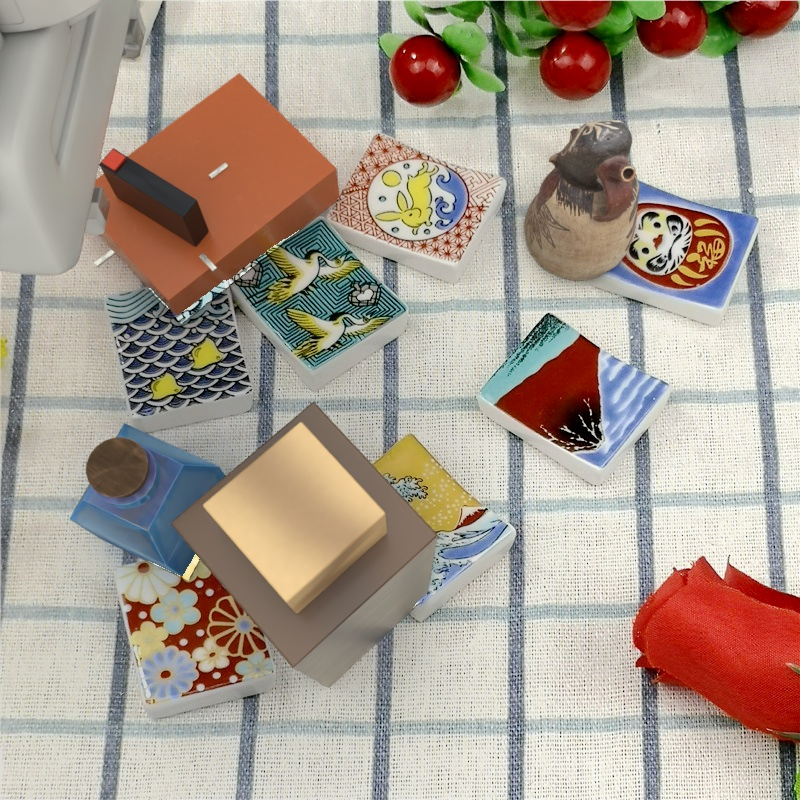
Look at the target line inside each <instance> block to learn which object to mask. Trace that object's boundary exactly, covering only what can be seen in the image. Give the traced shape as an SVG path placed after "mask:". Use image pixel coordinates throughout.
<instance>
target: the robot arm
mask: <svg viewBox="0 0 800 800" xmlns="http://www.w3.org/2000/svg"><path fill="white" fill-rule="evenodd" d="M140 6H141V4H140V0H0V272H4V273H9V274H18V275H27V276H59V275H62V274H65V273H67V272H68V271H70V270H72V269H74V268H75V267H76V266H77V265H78V263H79V261H80V258H81V254H82V250H83V246H84V245H83V244H84V239H85V235H92V236H100V235H102V234H104V232H105V228H106V223H107V219H108V213H109V207H110V202H109V200H107V198H106V194H105V192H104V190H103V188H102V187H95V182H96V179H97V178H98V172H99V168H100V165H99V164H100V162H101V158H102V152H103V148H104V142H105V139H106V135H107V134H106V133H107V129H108V126H109V125H108V124H109V119H110V115H111V110H112V106H113V101H114V96H115V92H116V86H117V81H118V77H119V73H120V72H119V71H120V69H121V68H120V67H121V62H122V57H123V56H126V58H128V59H138V58H139V57H141V56H140V55H141V52H142V48H143V44H144V40H145V35H146V31H147V28H146V25H145V23H144V19H143V16H142V13H141V9H140V8H141V7H140Z"/></svg>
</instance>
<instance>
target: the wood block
mask: <svg viewBox="0 0 800 800" xmlns="http://www.w3.org/2000/svg"><path fill="white" fill-rule="evenodd" d="M203 507H204V508H205V510H206V511H207V512H208V513H209V514H210V515H211V517H212V518H213V519H214V520H215V521H216V522H217V523H218V525H219V526H220V527H221V528H222V529H223V530H224V532H225V533H226V534H227V535H228V536H229V537H230V539H231V540H232V541H233V542H234V543H235V544H236V545H237V547H238V548H239V549H240V550H241V551H242V552H243V554H244V555H245V556H246V557H247V558H248V559H249V561H250V562H251V563H252V564H253V565H254V566H255V567H256V569H257V570H258V571H259V572H260V573H261V574H262V576H263V577H264V578H265V579H266V580H267V581H268V582H269V584H270V585H271V586H272V587H273V588H274V589H275V591H276V592H277V593H278V594H279V595H280V596H281V598H282V599H283V600H284V601H285V602H286V603H287V604H288V605H289V606H290V608H291V609H292V610H293V611H294V612H295V613H299V612H300V611H301V610H302V609H304V608H305V607H306V606H307V605H308V604H309V603H310V602H311V601H312V600H314V599H315V598H316V597H317V596H318V595H319V594H320V593H321V592H322V591H323V590H325V589H326V588H327V587H328V586H329V585H330V584H331V583H332V582H333V581H335V580H336V579H337V578H338V577H339V576H340V575H341V574H342V573H343V572H345V571H346V570H347V569H348V568H349V567H350V566H351V565H352V564H353V563H355V562H356V561H357V560H358V559H359V558H360V557H361V556H362V555H363V554H365V553H366V552H367V551H368V550H369V549H370V548H371V547H372V546H373V545H375V544H376V543H377V542H378V541H379V540H380V539H381V538H382V537H383V536H385V535H386V534H387V526H386V515H385V512H384V511H383V509H382V508H381V507H380V506H379V505H378V504H377V503H376V502H375V501H374V500H373V499H372V498H371V496H370V495H369V494H368V493H367V492H366V491H365V490H364V489H363V488H362V487H361V486H360V484H359V483H358V482H357V481H356V480H355V479H354V478H353V477H352V476H351V475H350V474H349V473H348V471H347V470H346V469H345V468H344V467H343V466H342V465H341V464H340V463H339V462H338V461H337V460H336V458H335V457H334V456H333V455H332V454H331V453H330V452H329V451H328V450H327V449H326V448H325V446H324V445H323V444H322V443H321V442H320V441H319V440H318V439H317V438H316V437H315V436H314V435H313V433H312V432H311V431H310V430H309V429H308V428H307V427H306V426H305V425H304V424H303V423H302V422H299V423H298V424H297V425H296V426H295V427H294V428H292V429H291V430H290V431H289V432H288V433H286V434H285V435H284V436H283V437H282V438H281V439H279V440H278V441H277V442H276V443H275V444H274V445H272V446H271V447H270V448H269V449H268V450H266V451H265V452H264V453H263V454H262V455H261V456H259V457H258V458H257V459H256V460H255V461H253V462H252V463H251V464H250V465H249V466H248V467H246V468H245V469H244V470H243V471H242V472H241V473H239V474H238V475H237V476H236V477H235V478H233V479H232V480H231V481H230V482H229V483H228V484H226V485H225V486H224V487H223V488H222V489H220V490H219V491H218V492H217V493H216V494H215V495H213V496H212V497H211V498H210V499H209V500H208V501H206V502H205V503H204V504H203Z"/></svg>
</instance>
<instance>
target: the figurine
mask: <svg viewBox="0 0 800 800" xmlns="http://www.w3.org/2000/svg"><path fill="white" fill-rule="evenodd" d="M632 136H633V135H632V132H631V130H630V129H629V128H628V127H627V126H626V124H625V122H624V121H622V120H616V119H613V120H612V119H607V120H605V119H604V120H594V121H589V122H586V123H584V124H582V125H581V126H580V127H578V128H576V127H575V128H572V129H571V130H570V135H569V140H568V142H567V144H566V145H565V146H564V147H563V148H562V149H561V150H560V151H558V152H557V153H554V154H553V155H551V156H550V158H549V159H548V162H549V163H551V164H552V165H553V166H554V168H553V169H552V170H551V171H550V172H549V173H548V174H547V175H546V176H545V177H544V178H543V181H542V182H541V185H540V186H539V190H538V193H537V194H536V195H535V196H534V198H533V199H532V201H531V202H530V204H529V206H528V208H527V211H526V213H525V217H524V224H523V229H524V237H525V242H526V246H527V248H528V251H529V252H530V253H531V255H532V257H533V258H534V259H535V261H536V262H537V263H538V264H539V265H540V266H541V267H542V268H543V269H545V270H546V271H547V272H549V273H551V274H553V275H555V276H557V277H558V278H559V277H560V278H562V279H566V280H567V279H568V280H571V281H589V280H591V279H595V278H598V277H601V276H603V275H605V274H606V273H608V272H610V271H611V270H613V269H614V268H616V267H617V266H618V265H619V264H620V262H621V261H622V260H623V259H624V257H626V255H627V254H628V251H629V249H630V248H631V244H632V242H633V239H634V235H635V230H636V229H635V228H636V223H637V219H638V218H637V215H638V206H639V195H640V184H639V180H638V175H637V173H636V172H637V171H636V169H637V168H636V167H635V166H633V165H632V164H629V154H630V151H631V148H632V144H633V137H632ZM607 271H608V272H607ZM604 273H605V274H604ZM602 274H603V275H602Z"/></svg>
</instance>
